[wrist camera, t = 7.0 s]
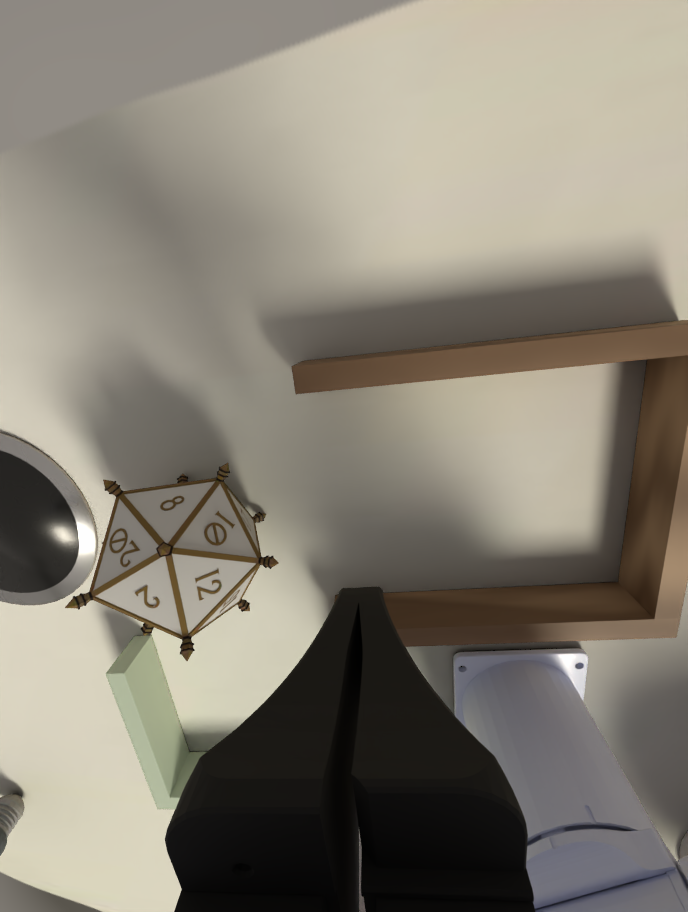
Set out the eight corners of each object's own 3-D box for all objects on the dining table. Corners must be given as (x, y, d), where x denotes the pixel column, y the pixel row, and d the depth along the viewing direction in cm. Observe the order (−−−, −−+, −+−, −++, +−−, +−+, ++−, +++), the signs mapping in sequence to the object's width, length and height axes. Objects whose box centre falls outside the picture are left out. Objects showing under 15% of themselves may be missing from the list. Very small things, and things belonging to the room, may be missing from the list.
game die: (212, 501, 26) (34, 570, 19) (241, 409, 21) (10, 457, 14) (288, 608, 24) (111, 736, 16) (345, 533, 18) (118, 674, 11)
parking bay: (384, 761, 28) (386, 810, 25) (177, 763, 30) (157, 809, 27) (370, 627, 24) (370, 666, 21) (134, 635, 26) (105, 673, 23)
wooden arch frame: (637, 598, 22) (676, 637, 20) (337, 611, 24) (333, 649, 21) (679, 320, 18) (738, 318, 15) (303, 360, 19) (291, 366, 17)
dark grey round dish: (121, 599, 25) (119, 601, 25) (-44, 607, 26) (-48, 609, 26) (59, 418, 21) (56, 419, 21) (-130, 437, 22) (-135, 438, 22)
